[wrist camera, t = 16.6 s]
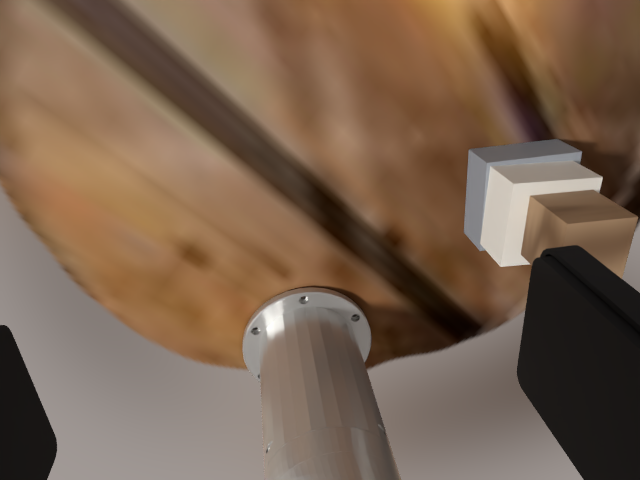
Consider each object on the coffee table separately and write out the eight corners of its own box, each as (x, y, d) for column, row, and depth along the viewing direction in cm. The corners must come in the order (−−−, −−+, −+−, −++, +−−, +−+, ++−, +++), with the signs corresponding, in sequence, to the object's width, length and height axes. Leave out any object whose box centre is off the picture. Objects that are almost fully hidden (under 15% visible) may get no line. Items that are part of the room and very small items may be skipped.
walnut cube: (580, 248, 41) (621, 280, 36) (520, 254, 40) (554, 288, 36) (593, 189, 39) (638, 216, 34) (529, 195, 38) (567, 223, 34)
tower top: (556, 237, 45) (583, 259, 41) (480, 243, 44) (500, 266, 41) (572, 160, 42) (603, 177, 38) (490, 166, 41) (513, 183, 38)
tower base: (544, 220, 49) (567, 239, 45) (462, 230, 48) (480, 250, 45) (555, 138, 45) (581, 151, 42) (467, 148, 44) (487, 162, 41)
